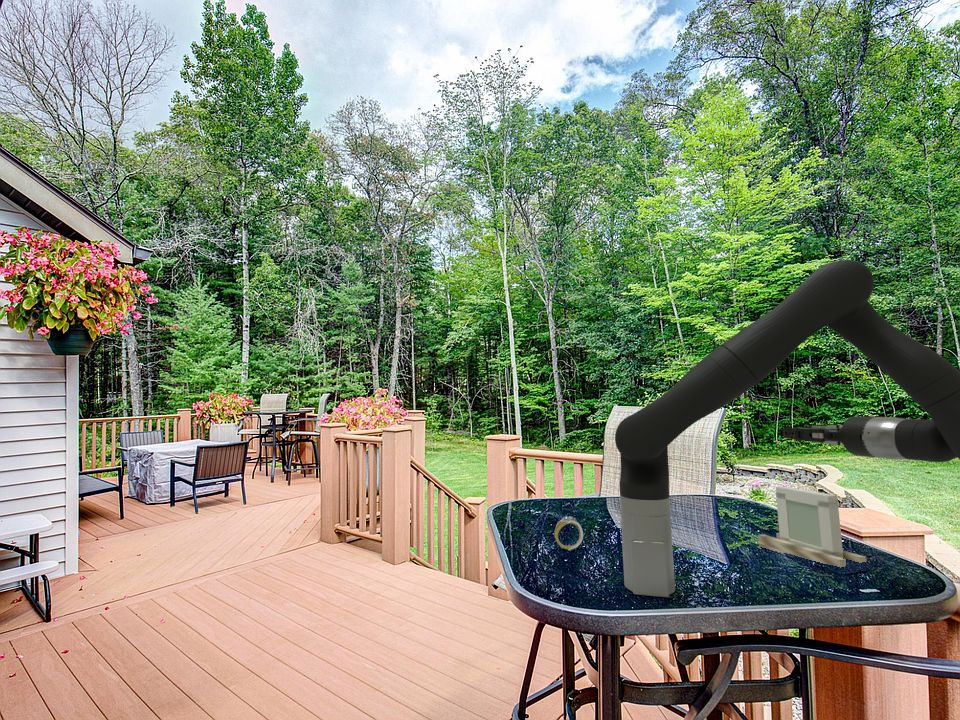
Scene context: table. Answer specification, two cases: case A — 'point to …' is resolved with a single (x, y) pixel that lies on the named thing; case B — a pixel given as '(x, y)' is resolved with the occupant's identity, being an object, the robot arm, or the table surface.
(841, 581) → the table surface
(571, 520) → the bracelet
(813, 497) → the frame
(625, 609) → the table surface
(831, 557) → the ledge
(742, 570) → the table surface
